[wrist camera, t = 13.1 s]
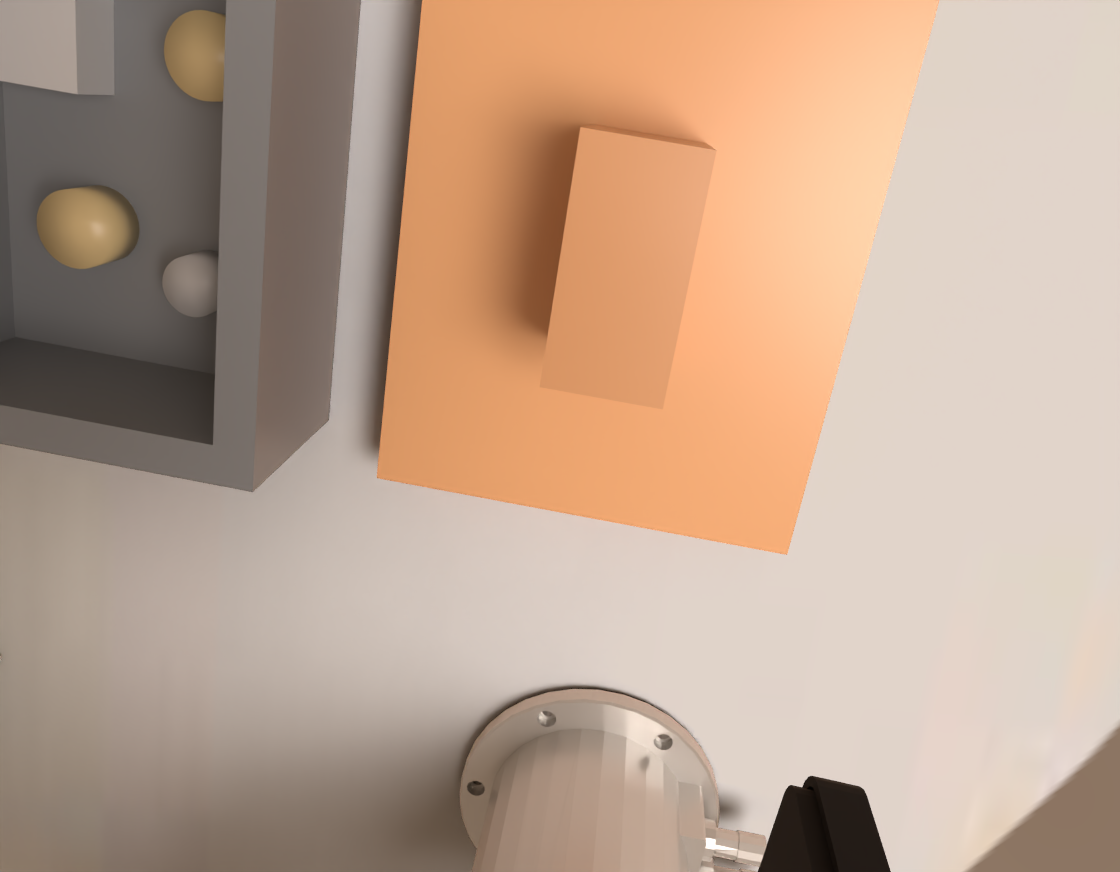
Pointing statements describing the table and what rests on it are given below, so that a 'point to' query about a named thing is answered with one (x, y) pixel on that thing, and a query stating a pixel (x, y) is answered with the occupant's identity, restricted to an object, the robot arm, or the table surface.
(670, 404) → the lid
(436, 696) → the table surface
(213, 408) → the tub
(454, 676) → the table surface
